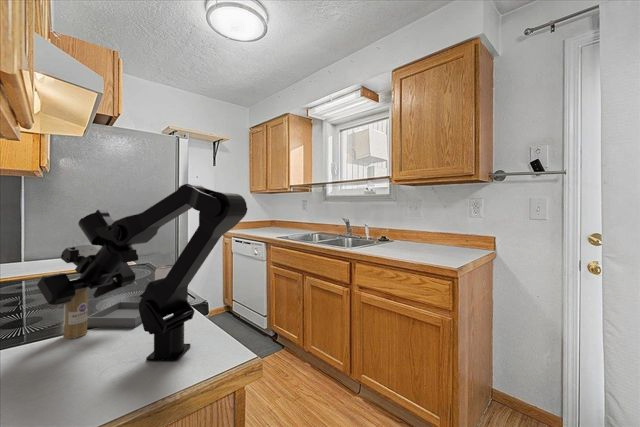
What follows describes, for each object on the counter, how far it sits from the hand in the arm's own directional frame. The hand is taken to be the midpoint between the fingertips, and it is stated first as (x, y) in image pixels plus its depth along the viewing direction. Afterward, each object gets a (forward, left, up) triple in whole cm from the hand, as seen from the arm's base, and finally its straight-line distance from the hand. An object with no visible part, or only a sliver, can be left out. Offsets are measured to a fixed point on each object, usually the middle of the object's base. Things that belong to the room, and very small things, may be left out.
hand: (74, 302), depth 69 cm
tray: (+11, -5, -8) cm, 15 cm away
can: (+24, -9, -8) cm, 27 cm away
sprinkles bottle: (0, 0, -8) cm, 8 cm away
